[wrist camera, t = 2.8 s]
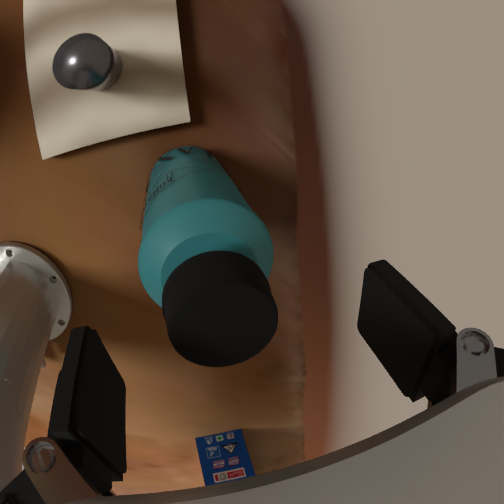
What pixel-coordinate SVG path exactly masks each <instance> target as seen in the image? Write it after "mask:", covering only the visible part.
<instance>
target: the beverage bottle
mask: <svg viewBox="0 0 504 504" xmlns="http://www.w3.org/2000/svg"><path fill="white" fill-rule="evenodd" d="M195 146H196V145H195ZM177 147H178V146H177ZM199 147H200V146H199ZM203 149H204V148H203ZM203 149H201V148H197V146H196V147H191V146H186V147H183V145H181V147H179V148H176V149H175V147H174V149H173V150H171V151H169V152H167V153H166V154H165V155H163V156H162V157H161V158H160V159H159V160H158V161H157V163H156V161H155V163H156V164H155V166H154V164H153V166H154V168H153V169H152V172H151V176H150V182H149V186H147V187H146V192H147V188H148V187H149V188H148V195H147V199H145V201H146V200H147V201H146V203H145V204H146V205H145V206H146V208H144V207H143V208H144V209H143V210H145V215H144V217H143V218H144V223H143V224H142V225H143V234H142V242H141V245H140V249H139V255H138V269H139V275H140V278H141V281H142V284H143V286H144V288H145V290H146V291H147V293H148V294H149V296H150V297H151V298H152V299H153V300H154V301H155V302H156V303H157V304H158V305H159V306H160V307H162V310H163V316H164V319H165V321H166V325H167V331H168V336H169V339H170V341H171V343H172V345H173V347H174V348H175V350H176V351H177V352H178V353H179V354H180V355H181V356H182V357H184V358H185V359H187V360H189V361H190V362H193V363H195V364H198V365H202V366H208V367H224V366H230V365H235V364H238V363H241V362H244V361H246V360H248V359H250V358H251V357H253V356H255V355H256V354H258V353H259V352H260V351H261V350H262V349H264V348H265V346H266V345H267V344H268V343H269V342H270V340H271V339H272V337H273V335H274V333H275V331H276V328H277V324H278V311H277V306H276V304H275V301H274V299H273V296H272V294H271V289H270V285H269V283H268V278H269V275H270V272H271V269H272V264H273V244H272V240H271V237H270V234H269V232H268V230H267V228H266V226H265V225H264V223H263V222H262V220H261V219H260V218H259V217H258V216H257V215H256V214H255V213H254V212H253V211H252V209H251V208H250V206H249V205H248V204H247V202H246V201H245V199H244V198H243V196H242V195H241V194H240V193H241V192H240V191H241V190H240V191H238V188H237V187H236V185H235V184H234V183H233V181H232V180H231V179H230V177H229V176H230V175H231V174H230V175H229V176H228V175H227V173H228V172H227V173H226V172H225V171H226V170H227V169H225V171H224V169H223V168H224V166H223V168H222V166H221V165H220V163H219V162H218V161H217V160H216V159H215V157H214V156H213V155H211V154H210V152H211V151H210V152H209V151H207V150H203ZM163 154H164V153H163ZM219 161H220V160H219ZM222 165H223V164H222ZM149 174H150V173H149ZM148 179H149V177H148ZM233 179H234V178H233ZM147 185H148V182H147ZM238 186H239V185H238ZM145 196H146V195H145ZM143 206H144V205H143ZM143 210H142V211H143ZM143 212H144V211H143ZM143 212H142V213H143ZM141 218H142V217H141ZM141 220H143V219H141ZM141 222H142V221H141ZM140 226H141V224H140ZM140 228H141V227H140Z"/></svg>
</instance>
